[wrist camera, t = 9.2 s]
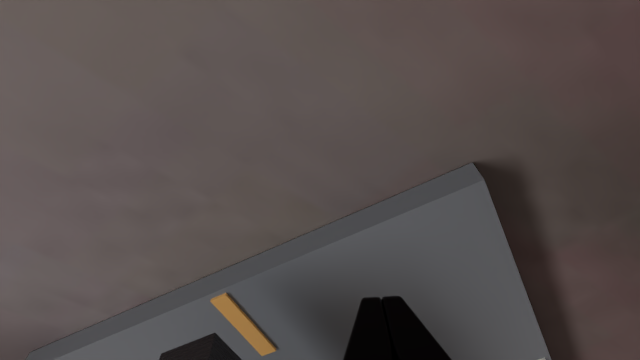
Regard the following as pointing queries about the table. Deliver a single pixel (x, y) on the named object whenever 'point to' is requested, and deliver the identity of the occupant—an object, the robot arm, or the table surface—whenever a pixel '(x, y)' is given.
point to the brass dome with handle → (202, 350)
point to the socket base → (346, 288)
